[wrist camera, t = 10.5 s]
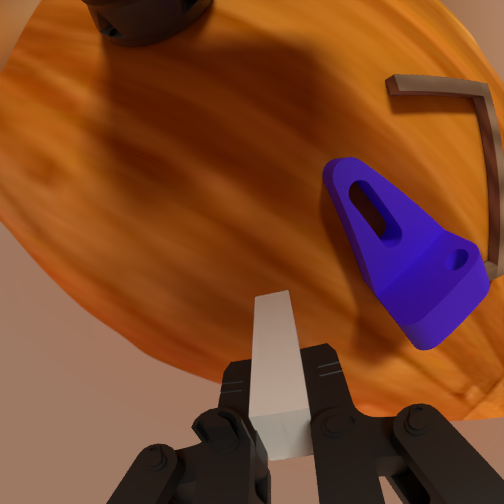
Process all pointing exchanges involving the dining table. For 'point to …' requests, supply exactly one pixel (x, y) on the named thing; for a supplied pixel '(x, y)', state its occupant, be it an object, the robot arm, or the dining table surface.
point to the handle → (498, 166)
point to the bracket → (408, 256)
